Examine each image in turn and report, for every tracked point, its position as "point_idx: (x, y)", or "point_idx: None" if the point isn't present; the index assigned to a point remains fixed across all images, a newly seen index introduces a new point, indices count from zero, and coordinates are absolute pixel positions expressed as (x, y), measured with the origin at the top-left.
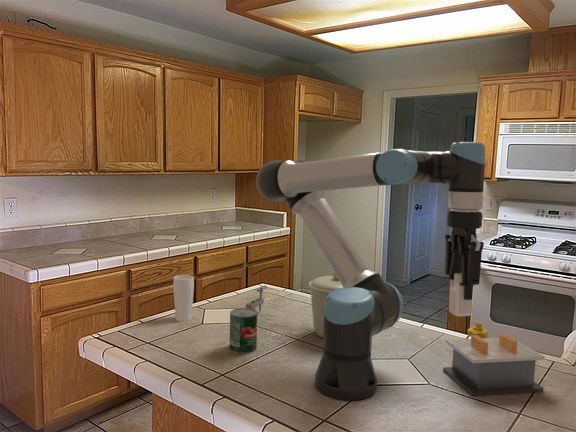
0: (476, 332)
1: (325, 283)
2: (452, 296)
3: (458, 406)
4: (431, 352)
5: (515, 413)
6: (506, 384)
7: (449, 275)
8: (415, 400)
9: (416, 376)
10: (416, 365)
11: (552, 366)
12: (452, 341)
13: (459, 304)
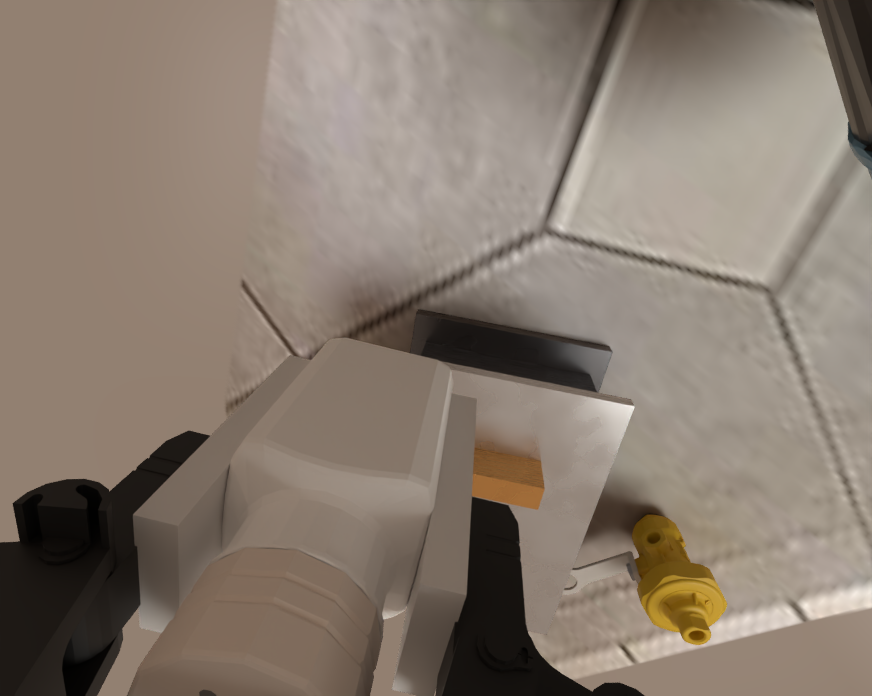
0: (666, 584)
1: None
2: (355, 413)
3: (374, 219)
4: (765, 416)
5: (303, 353)
6: None
7: (509, 666)
8: (451, 88)
9: (616, 220)
10: (698, 284)
11: None
12: (605, 419)
13: (281, 390)
